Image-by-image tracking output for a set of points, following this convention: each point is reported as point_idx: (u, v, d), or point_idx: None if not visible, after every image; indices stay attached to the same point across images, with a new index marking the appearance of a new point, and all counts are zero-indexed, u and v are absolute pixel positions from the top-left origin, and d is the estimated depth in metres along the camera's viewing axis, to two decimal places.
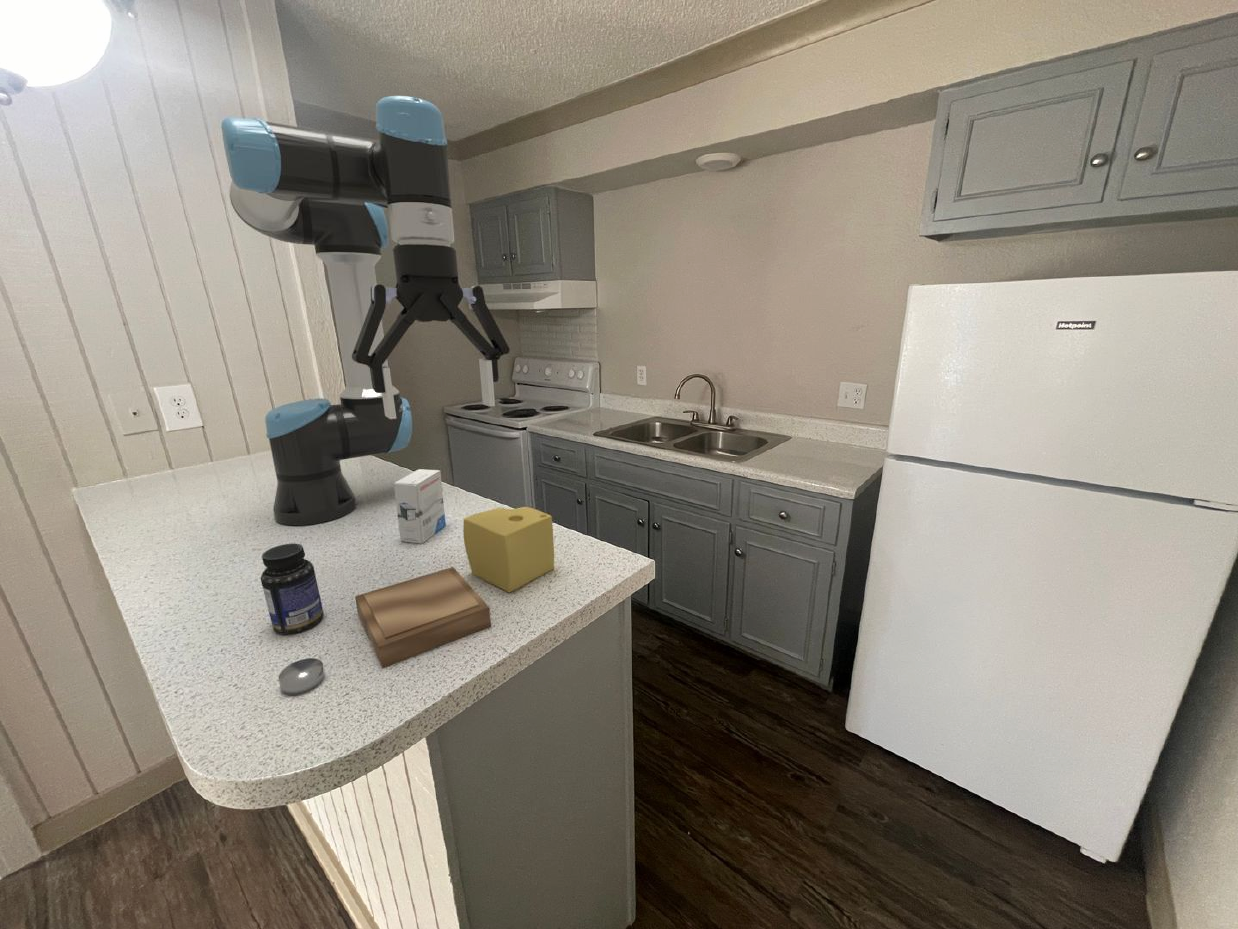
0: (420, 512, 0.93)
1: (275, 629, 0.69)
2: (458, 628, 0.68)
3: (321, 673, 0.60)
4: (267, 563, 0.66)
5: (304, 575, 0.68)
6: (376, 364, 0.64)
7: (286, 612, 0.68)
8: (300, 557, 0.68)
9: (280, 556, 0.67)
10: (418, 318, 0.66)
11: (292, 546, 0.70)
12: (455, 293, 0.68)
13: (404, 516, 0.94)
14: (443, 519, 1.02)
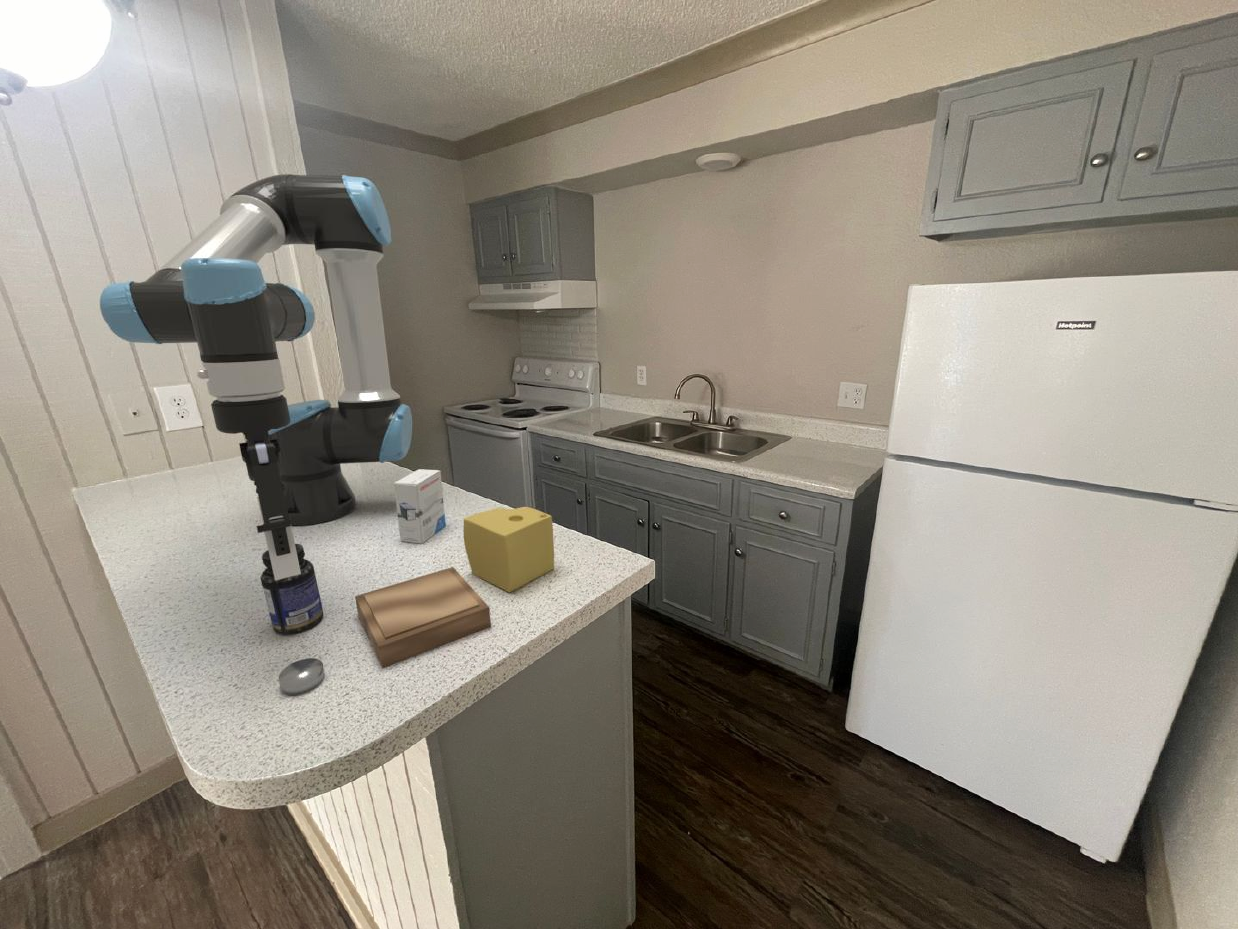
0: (421, 512, 0.94)
1: (275, 629, 0.69)
2: (458, 628, 0.68)
3: (321, 673, 0.60)
4: (267, 563, 0.66)
5: (304, 575, 0.68)
6: None
7: (286, 611, 0.68)
8: (300, 556, 0.68)
9: None
10: None
11: None
12: None
13: (404, 516, 0.94)
14: (443, 519, 1.02)
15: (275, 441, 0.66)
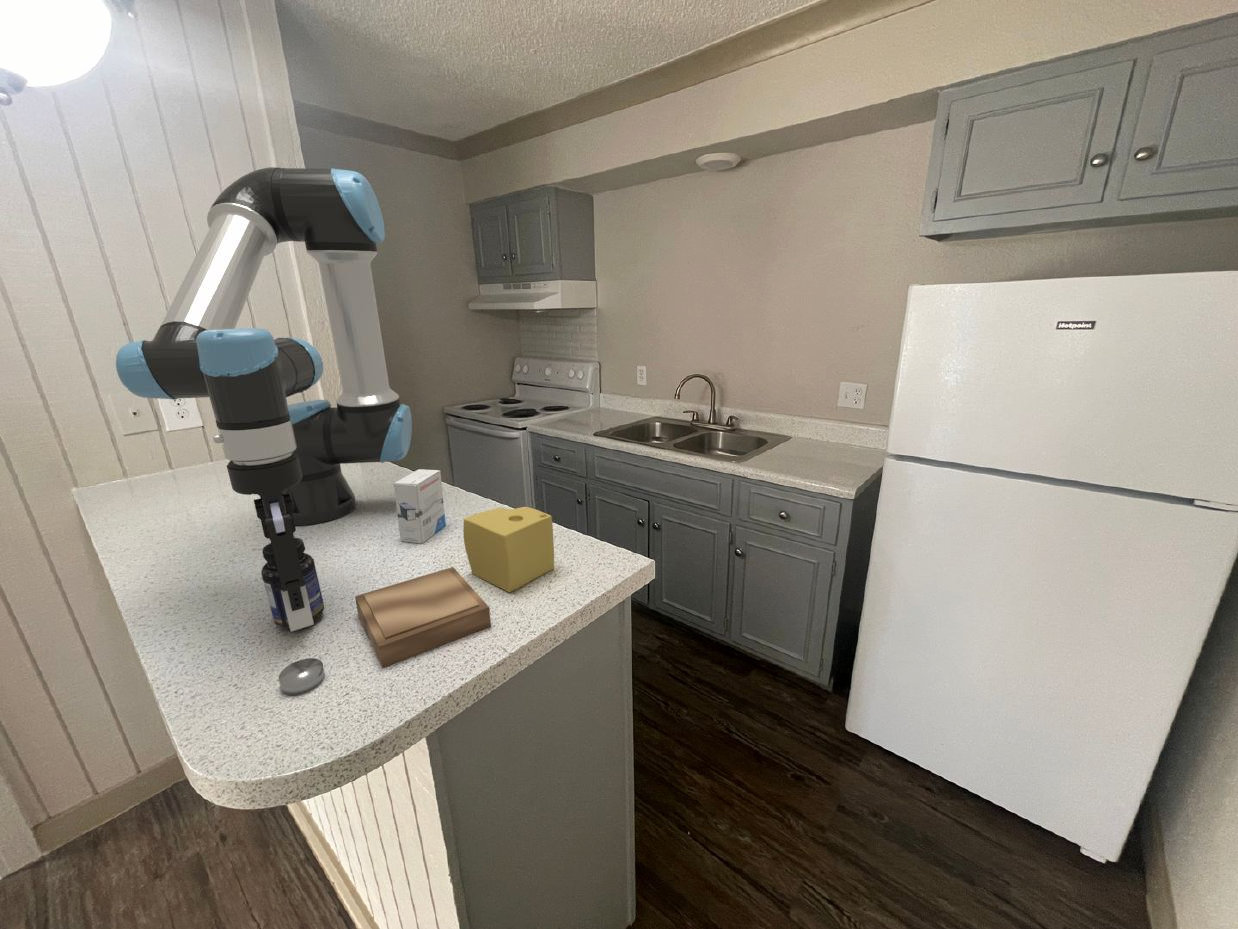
0: (420, 512, 0.93)
1: (276, 623, 0.69)
2: (458, 628, 0.68)
3: (321, 673, 0.60)
4: (267, 558, 0.67)
5: (304, 569, 0.68)
6: None
7: None
8: (300, 551, 0.68)
9: None
10: None
11: None
12: None
13: (404, 516, 0.94)
14: (443, 519, 1.02)
15: (287, 494, 0.68)
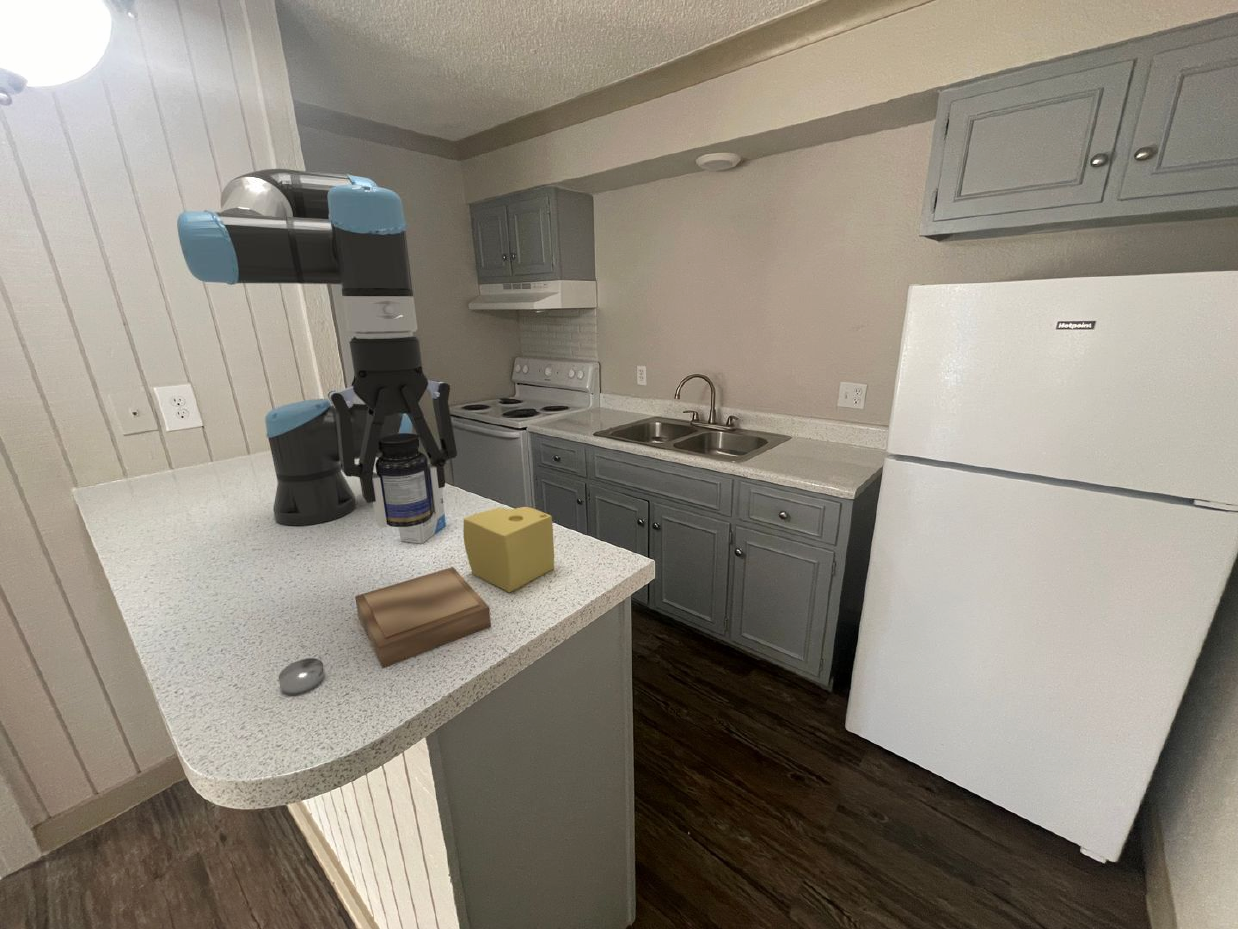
0: None
1: (424, 518, 0.66)
2: (458, 628, 0.68)
3: (321, 673, 0.60)
4: (414, 444, 0.64)
5: None
6: (366, 476, 0.62)
7: (430, 491, 0.67)
8: None
9: (412, 436, 0.65)
10: None
11: (389, 436, 0.64)
12: (419, 383, 0.63)
13: None
14: (443, 519, 1.02)
15: None
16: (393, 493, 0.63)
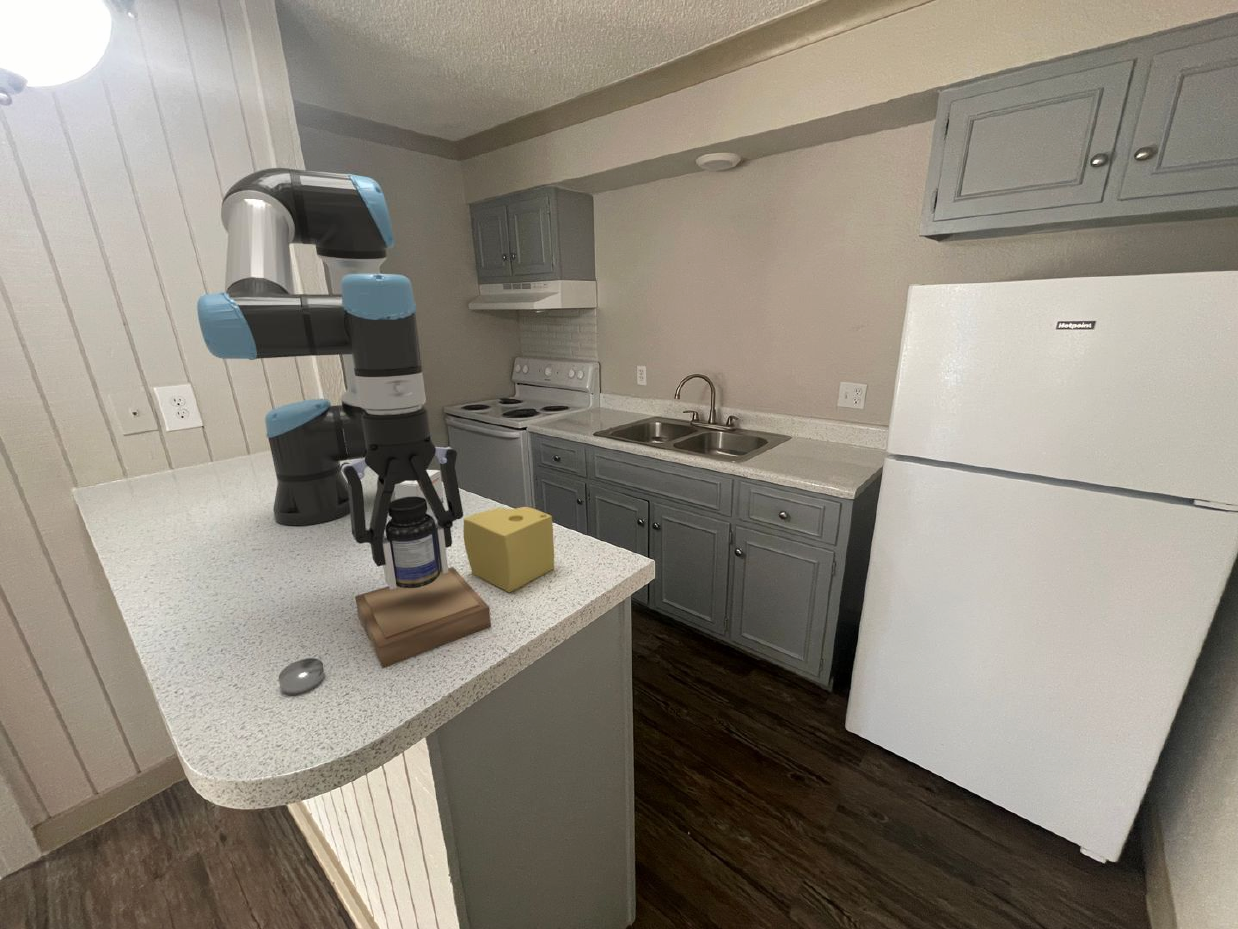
0: None
1: (432, 578, 0.68)
2: (458, 628, 0.68)
3: (321, 673, 0.60)
4: (422, 509, 0.66)
5: None
6: (377, 541, 0.64)
7: None
8: None
9: (420, 500, 0.67)
10: None
11: (398, 501, 0.67)
12: (427, 451, 0.66)
13: None
14: None
15: None
16: (403, 557, 0.66)
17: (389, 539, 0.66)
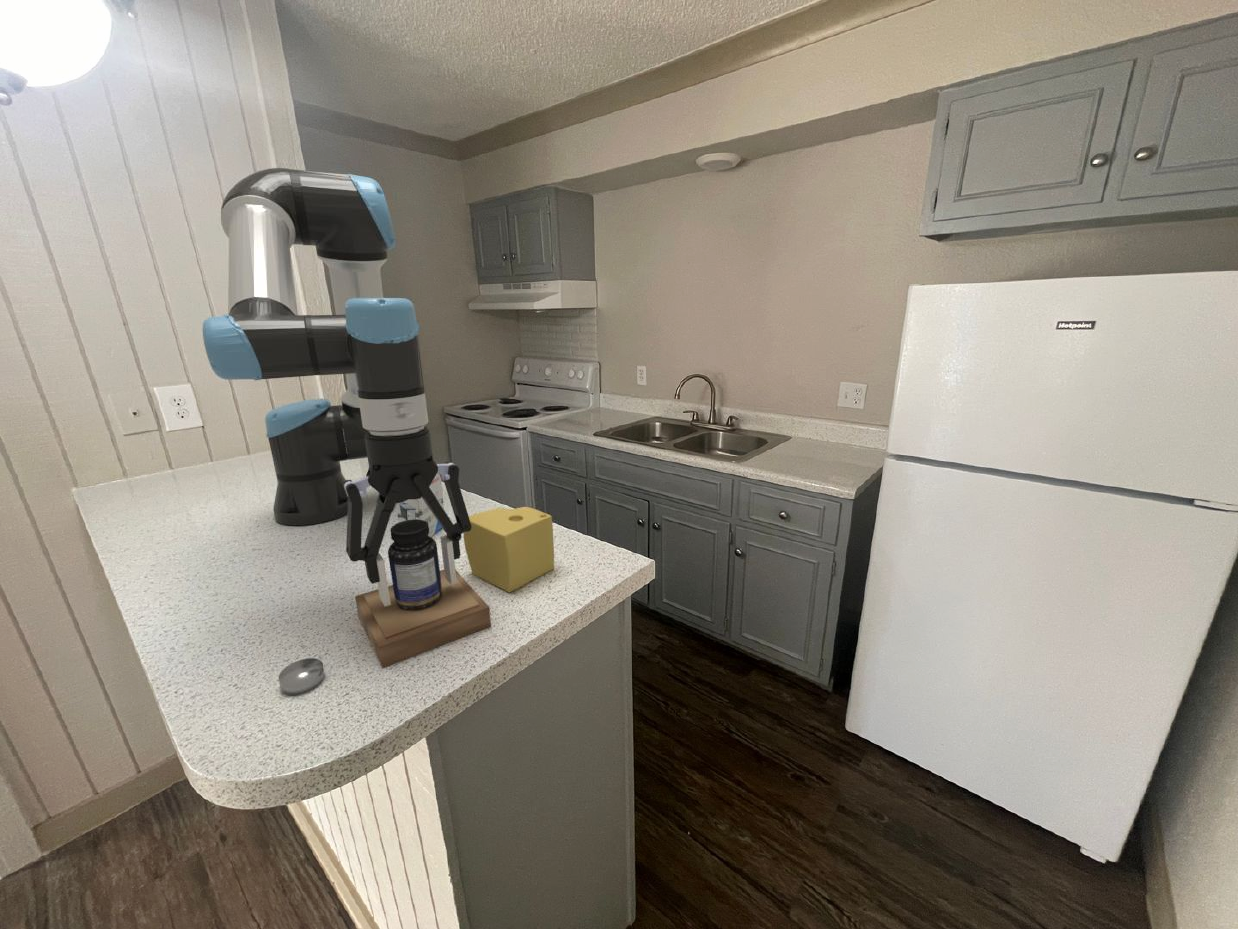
0: (420, 512, 0.93)
1: (434, 600, 0.69)
2: (458, 628, 0.68)
3: (321, 673, 0.60)
4: (424, 533, 0.67)
5: None
6: (371, 559, 0.64)
7: (439, 573, 0.71)
8: None
9: (422, 524, 0.68)
10: None
11: (400, 525, 0.68)
12: (429, 470, 0.66)
13: (404, 516, 0.94)
14: None
15: None
16: (405, 580, 0.67)
17: (392, 563, 0.67)
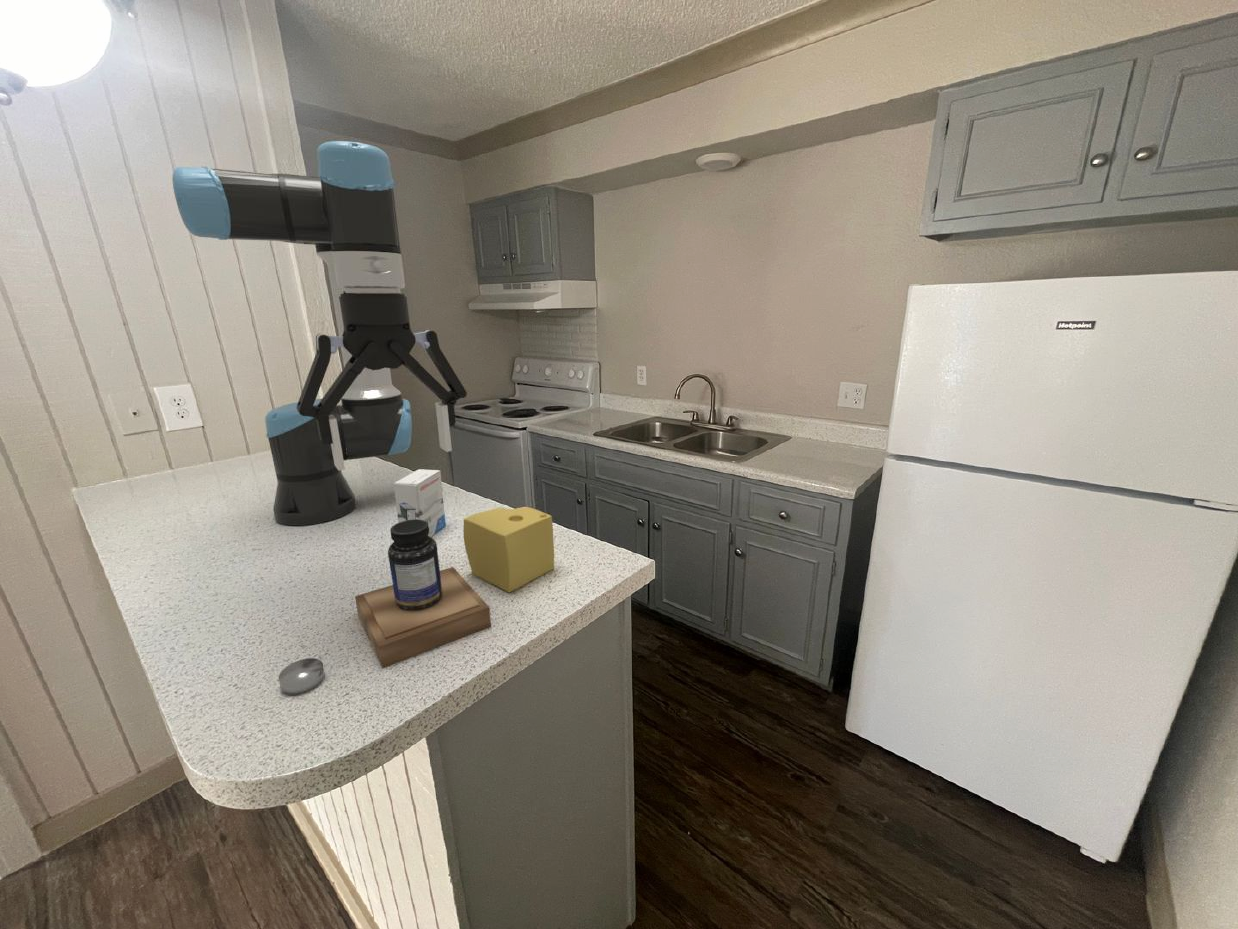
0: (421, 512, 0.94)
1: (434, 600, 0.69)
2: (458, 628, 0.68)
3: (321, 673, 0.60)
4: (424, 533, 0.67)
5: None
6: (322, 416, 0.62)
7: (439, 573, 0.71)
8: None
9: (422, 524, 0.68)
10: (367, 367, 0.64)
11: (400, 525, 0.68)
12: (406, 339, 0.65)
13: (404, 516, 0.94)
14: (443, 519, 1.02)
15: None
16: (405, 580, 0.67)
17: (392, 563, 0.67)
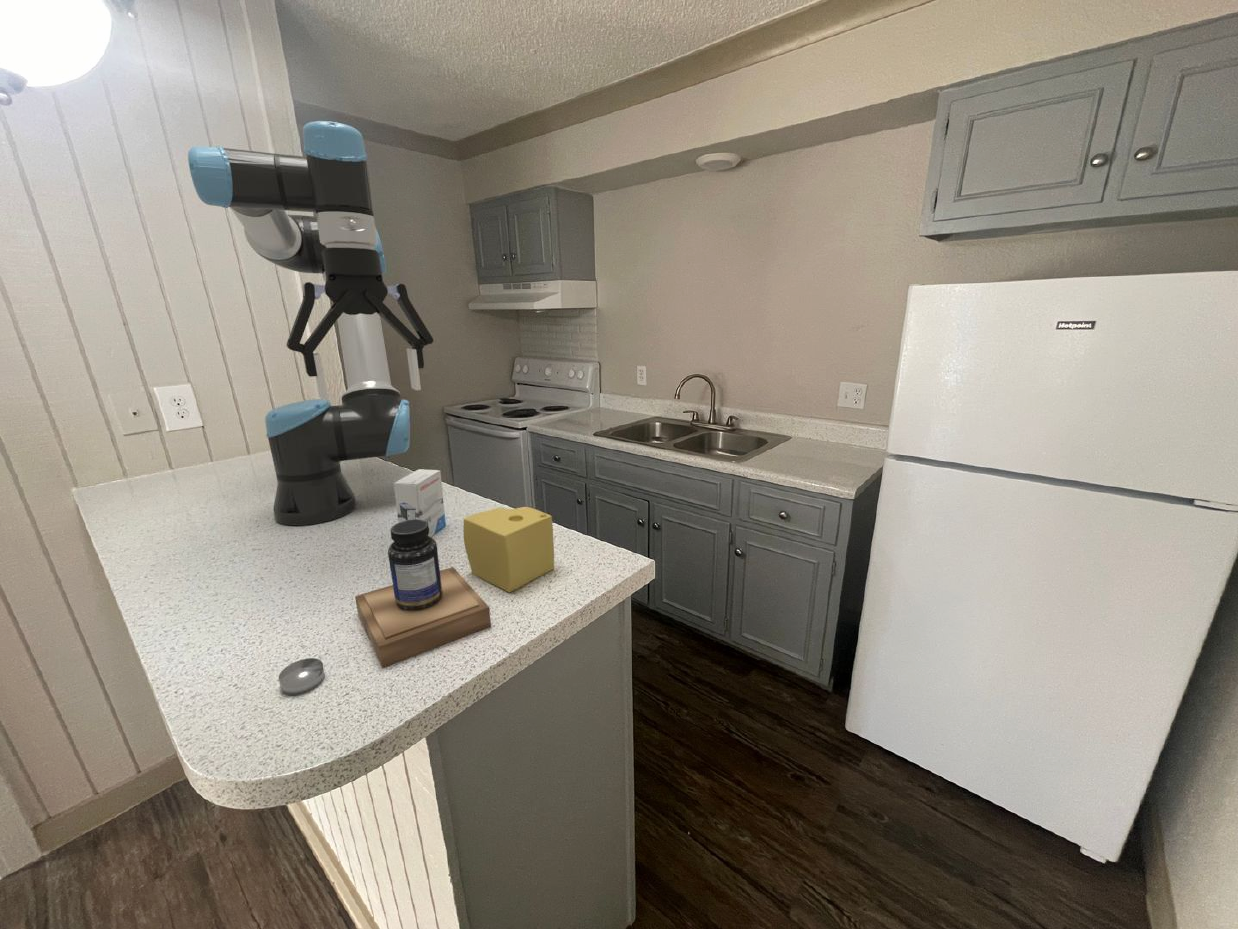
0: (421, 512, 0.94)
1: (434, 600, 0.69)
2: (458, 628, 0.68)
3: (321, 673, 0.60)
4: (424, 533, 0.67)
5: None
6: (307, 351, 0.74)
7: (439, 573, 0.71)
8: None
9: (422, 524, 0.68)
10: (346, 311, 0.76)
11: (400, 525, 0.68)
12: (379, 290, 0.78)
13: (404, 516, 0.94)
14: (443, 519, 1.02)
15: None
16: (405, 580, 0.67)
17: (392, 563, 0.67)
